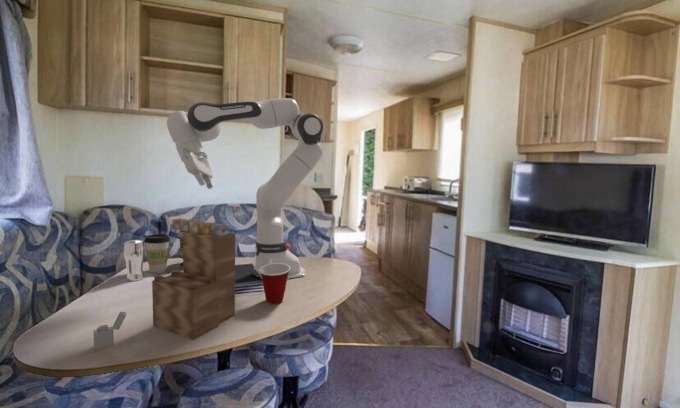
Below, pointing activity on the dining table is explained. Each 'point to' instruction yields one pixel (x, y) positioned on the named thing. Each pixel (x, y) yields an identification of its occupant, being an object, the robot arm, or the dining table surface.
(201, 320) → the walnut display stand
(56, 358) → the dining table surface
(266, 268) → the plastic cup
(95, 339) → the lighter
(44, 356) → the dining table surface
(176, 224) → the bead bar
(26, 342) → the dining table surface
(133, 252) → the beer glass
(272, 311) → the dining table surface
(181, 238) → the apothecary jar
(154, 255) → the coffee cup
